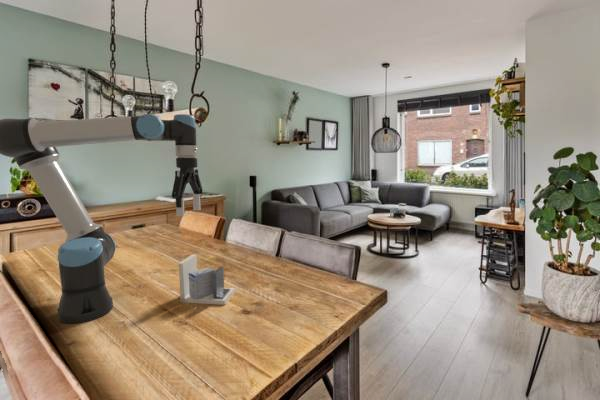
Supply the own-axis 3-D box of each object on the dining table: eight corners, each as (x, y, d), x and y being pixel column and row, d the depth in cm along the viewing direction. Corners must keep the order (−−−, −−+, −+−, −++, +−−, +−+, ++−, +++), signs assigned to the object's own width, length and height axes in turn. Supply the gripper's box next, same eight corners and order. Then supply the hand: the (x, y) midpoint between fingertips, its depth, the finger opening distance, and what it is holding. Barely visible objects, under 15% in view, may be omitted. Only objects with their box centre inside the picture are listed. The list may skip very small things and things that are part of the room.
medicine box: (208, 289, 119) (207, 266, 118) (215, 292, 116) (214, 269, 115) (189, 296, 113) (188, 272, 112) (196, 300, 110) (195, 275, 109)
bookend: (213, 298, 111) (212, 273, 110) (221, 290, 118) (220, 266, 117) (223, 298, 111) (222, 273, 110) (229, 290, 118) (229, 266, 117)
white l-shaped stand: (180, 302, 112) (178, 263, 110) (194, 289, 122) (192, 254, 120) (225, 304, 110) (223, 265, 108) (234, 292, 120) (233, 255, 118)
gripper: (179, 157, 108) (182, 219, 111) (209, 157, 133) (211, 208, 135) (158, 157, 109) (162, 218, 112) (192, 157, 134) (194, 207, 136)
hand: (189, 213), depth 124 cm, fingers open, 13 cm apart
